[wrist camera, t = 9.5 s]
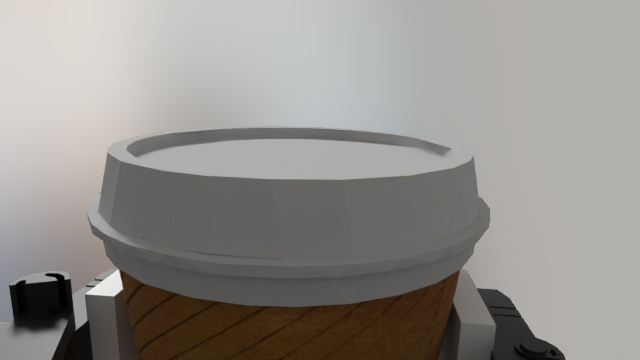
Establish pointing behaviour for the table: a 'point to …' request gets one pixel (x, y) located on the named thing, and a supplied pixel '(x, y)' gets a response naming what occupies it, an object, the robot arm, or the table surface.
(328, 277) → the disposable coffee cup
